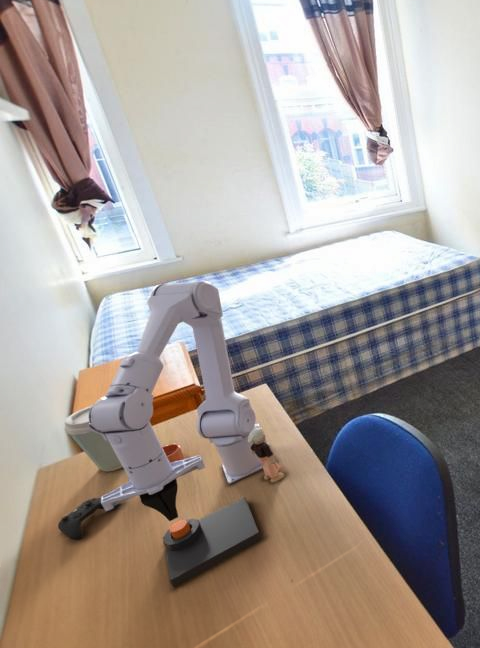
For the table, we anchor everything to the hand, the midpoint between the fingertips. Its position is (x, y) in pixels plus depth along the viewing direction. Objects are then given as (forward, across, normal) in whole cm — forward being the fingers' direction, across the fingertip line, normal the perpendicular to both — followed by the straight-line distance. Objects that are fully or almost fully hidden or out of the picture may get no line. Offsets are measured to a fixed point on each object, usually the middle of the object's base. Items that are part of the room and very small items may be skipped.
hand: (173, 516), depth 85 cm
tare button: (+4, 0, 0) cm, 4 cm away
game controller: (+8, -15, +22) cm, 28 cm away
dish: (+7, 0, +30) cm, 31 cm away
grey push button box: (+7, +4, -3) cm, 9 cm away
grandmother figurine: (+7, +17, +8) cm, 20 cm away
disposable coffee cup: (+7, -10, +41) cm, 43 cm away
